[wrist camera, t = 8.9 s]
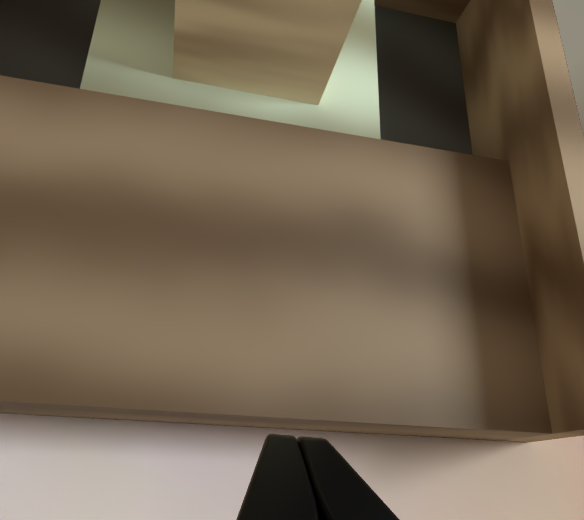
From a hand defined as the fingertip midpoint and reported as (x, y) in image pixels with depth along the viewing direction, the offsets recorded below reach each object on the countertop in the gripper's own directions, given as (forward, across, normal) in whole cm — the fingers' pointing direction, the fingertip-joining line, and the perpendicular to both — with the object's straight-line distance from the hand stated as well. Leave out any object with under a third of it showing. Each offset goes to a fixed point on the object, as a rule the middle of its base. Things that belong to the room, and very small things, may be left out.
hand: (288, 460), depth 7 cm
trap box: (+19, +1, -1) cm, 19 cm away
